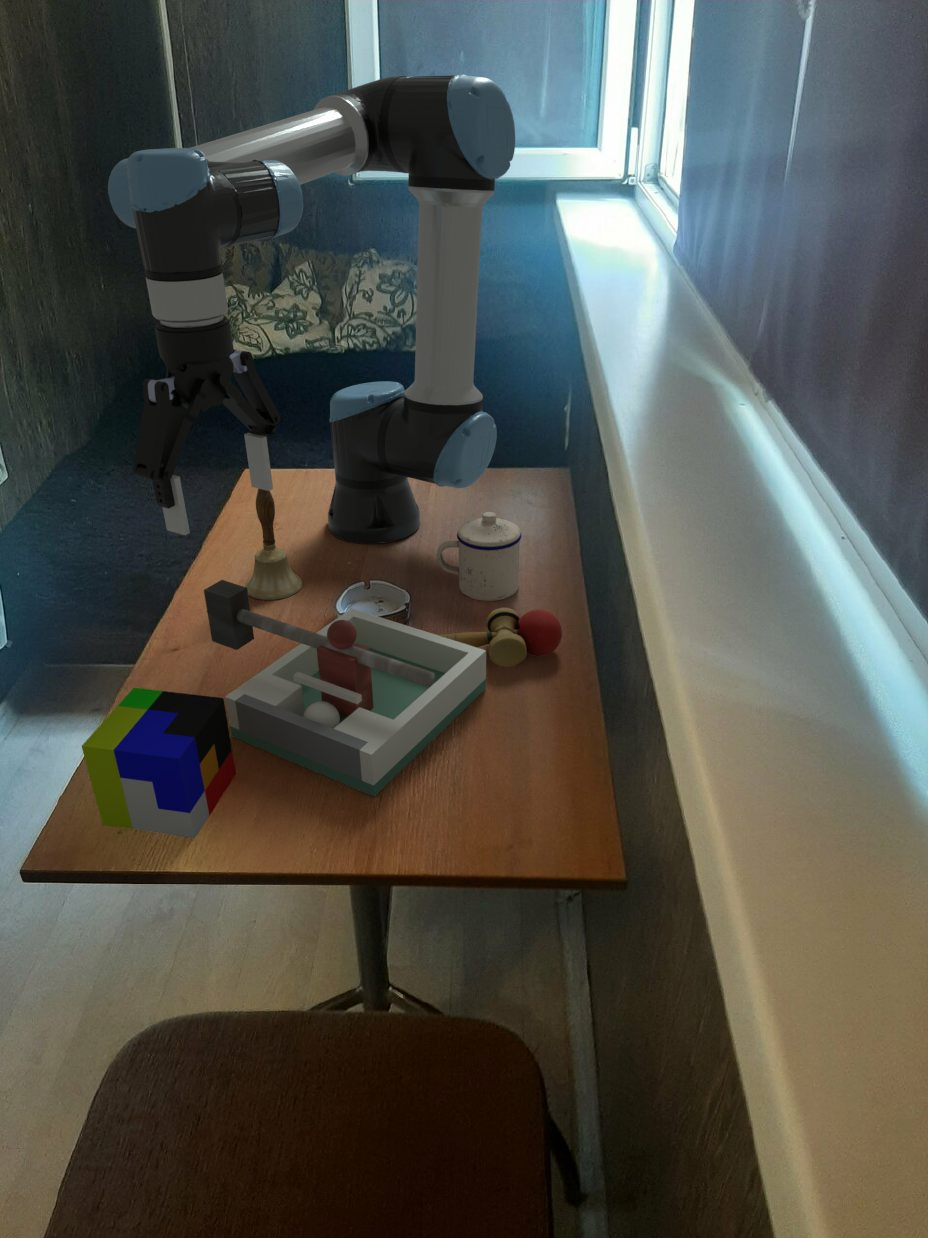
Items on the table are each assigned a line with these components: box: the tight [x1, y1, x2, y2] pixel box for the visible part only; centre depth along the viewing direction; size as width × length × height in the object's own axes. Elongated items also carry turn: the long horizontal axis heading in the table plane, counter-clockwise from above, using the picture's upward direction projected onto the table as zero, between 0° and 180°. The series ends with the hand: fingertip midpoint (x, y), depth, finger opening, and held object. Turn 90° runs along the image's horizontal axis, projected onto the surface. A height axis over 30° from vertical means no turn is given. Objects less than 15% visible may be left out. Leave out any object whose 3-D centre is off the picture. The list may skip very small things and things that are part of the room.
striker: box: [203, 579, 435, 717], centre depth 107 cm, size 3×30×11 cm, turn 59°
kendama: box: [437, 607, 563, 667], centre depth 121 cm, size 8×6×18 cm
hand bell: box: [244, 488, 303, 601], centre depth 134 cm, size 8×8×16 cm
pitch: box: [224, 608, 487, 797], centre depth 109 cm, size 23×20×7 cm
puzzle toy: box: [81, 687, 237, 839], centre depth 96 cm, size 10×10×10 cm
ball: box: [303, 701, 340, 729], centre depth 104 cm, size 4×4×4 cm
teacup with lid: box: [436, 511, 522, 602], centre depth 135 cm, size 12×9×12 cm
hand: (222, 509), depth 107 cm, fingers open, 13 cm apart
